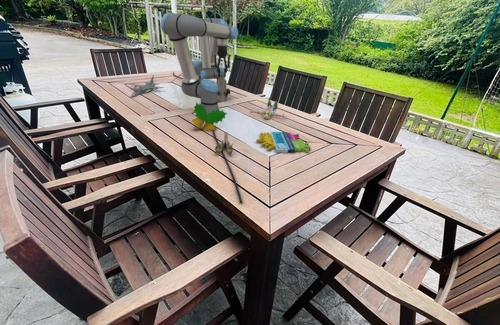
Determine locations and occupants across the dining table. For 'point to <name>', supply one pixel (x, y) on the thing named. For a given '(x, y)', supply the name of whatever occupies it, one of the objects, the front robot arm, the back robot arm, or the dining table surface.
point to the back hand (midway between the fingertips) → (222, 94)
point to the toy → (269, 111)
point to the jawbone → (224, 145)
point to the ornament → (207, 117)
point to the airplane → (145, 87)
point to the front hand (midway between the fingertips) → (222, 76)
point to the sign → (283, 142)
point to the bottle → (221, 89)
